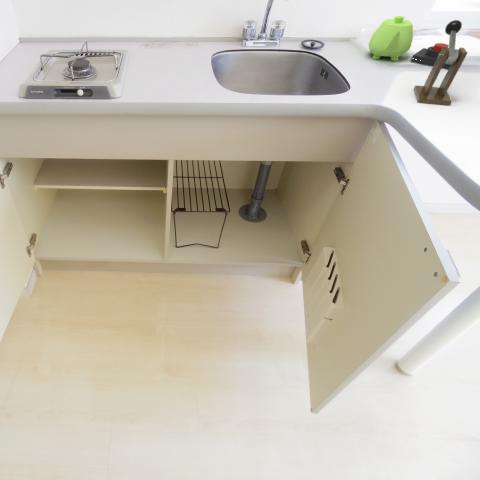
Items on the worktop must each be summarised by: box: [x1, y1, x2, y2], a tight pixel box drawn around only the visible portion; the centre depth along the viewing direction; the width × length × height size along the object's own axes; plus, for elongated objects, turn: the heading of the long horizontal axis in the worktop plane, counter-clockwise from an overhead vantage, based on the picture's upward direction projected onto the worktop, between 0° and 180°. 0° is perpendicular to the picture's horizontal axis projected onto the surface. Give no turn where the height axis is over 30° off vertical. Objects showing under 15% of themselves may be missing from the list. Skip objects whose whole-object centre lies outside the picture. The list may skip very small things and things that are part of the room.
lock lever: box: [444, 19, 463, 65], centre depth 96 cm, size 14×4×4 cm, turn 160°
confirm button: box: [433, 42, 449, 51], centre depth 119 cm, size 4×4×2 cm
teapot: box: [368, 15, 414, 62], centre depth 123 cm, size 20×13×13 cm
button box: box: [409, 45, 451, 70], centre depth 120 cm, size 12×10×4 cm
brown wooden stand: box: [412, 47, 468, 106], centre depth 97 cm, size 10×8×13 cm
